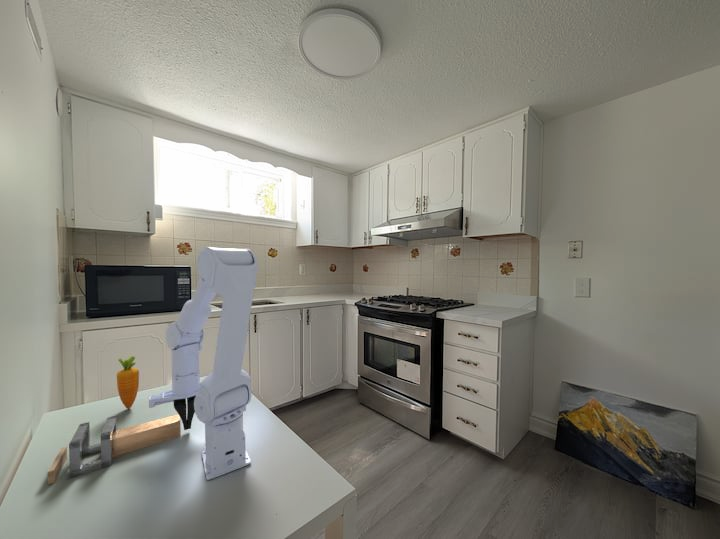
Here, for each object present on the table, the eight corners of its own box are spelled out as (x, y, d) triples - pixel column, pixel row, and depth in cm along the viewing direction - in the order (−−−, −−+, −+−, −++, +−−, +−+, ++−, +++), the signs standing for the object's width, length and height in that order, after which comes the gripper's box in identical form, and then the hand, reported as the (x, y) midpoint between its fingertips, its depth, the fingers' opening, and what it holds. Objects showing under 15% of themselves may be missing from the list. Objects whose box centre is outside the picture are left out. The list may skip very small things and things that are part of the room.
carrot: (112, 411, 79) (111, 358, 78) (131, 403, 84) (130, 352, 83) (125, 414, 77) (124, 359, 77) (144, 405, 82) (142, 354, 82)
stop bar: (54, 482, 53) (53, 470, 53) (48, 484, 53) (47, 472, 53) (67, 457, 60) (66, 446, 60) (61, 459, 60) (61, 448, 60)
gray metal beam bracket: (111, 465, 58) (110, 433, 58) (66, 479, 54) (65, 445, 54) (117, 443, 65) (116, 415, 65) (77, 454, 61) (76, 425, 61)
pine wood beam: (180, 437, 67) (180, 420, 67) (101, 461, 59) (101, 443, 59) (179, 429, 71) (179, 413, 71) (104, 451, 62) (103, 433, 62)
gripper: (216, 361, 76) (217, 411, 76) (149, 373, 68) (150, 429, 68) (221, 369, 70) (222, 423, 70) (147, 383, 62) (149, 445, 62)
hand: (187, 427), depth 69 cm, fingers closed
